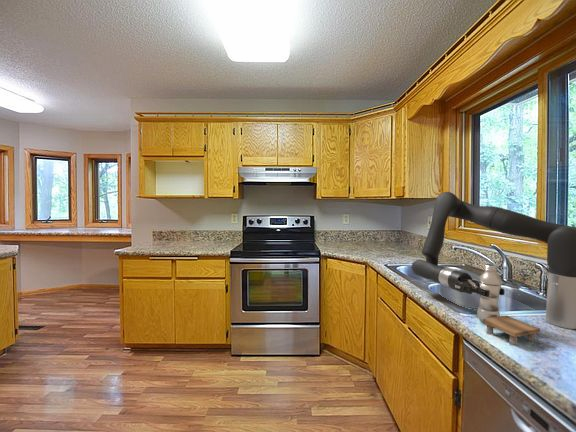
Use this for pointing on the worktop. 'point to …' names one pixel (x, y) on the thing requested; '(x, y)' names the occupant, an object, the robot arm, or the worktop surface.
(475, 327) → the worktop surface
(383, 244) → the worktop surface
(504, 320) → the pegged shelf
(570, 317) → the robot arm
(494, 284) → the plastic bottle
